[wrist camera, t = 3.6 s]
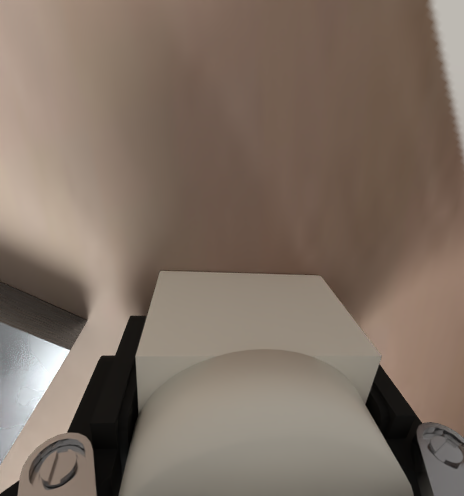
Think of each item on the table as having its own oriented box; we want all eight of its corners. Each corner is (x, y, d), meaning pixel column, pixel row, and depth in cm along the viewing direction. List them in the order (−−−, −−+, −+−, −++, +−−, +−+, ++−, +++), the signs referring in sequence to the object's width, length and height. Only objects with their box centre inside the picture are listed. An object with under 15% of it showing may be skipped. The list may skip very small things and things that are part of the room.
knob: (327, 270, 11) (474, 447, 5) (299, 395, 13) (376, 616, 7) (153, 265, 10) (86, 463, 4) (157, 397, 12) (115, 644, 6)
